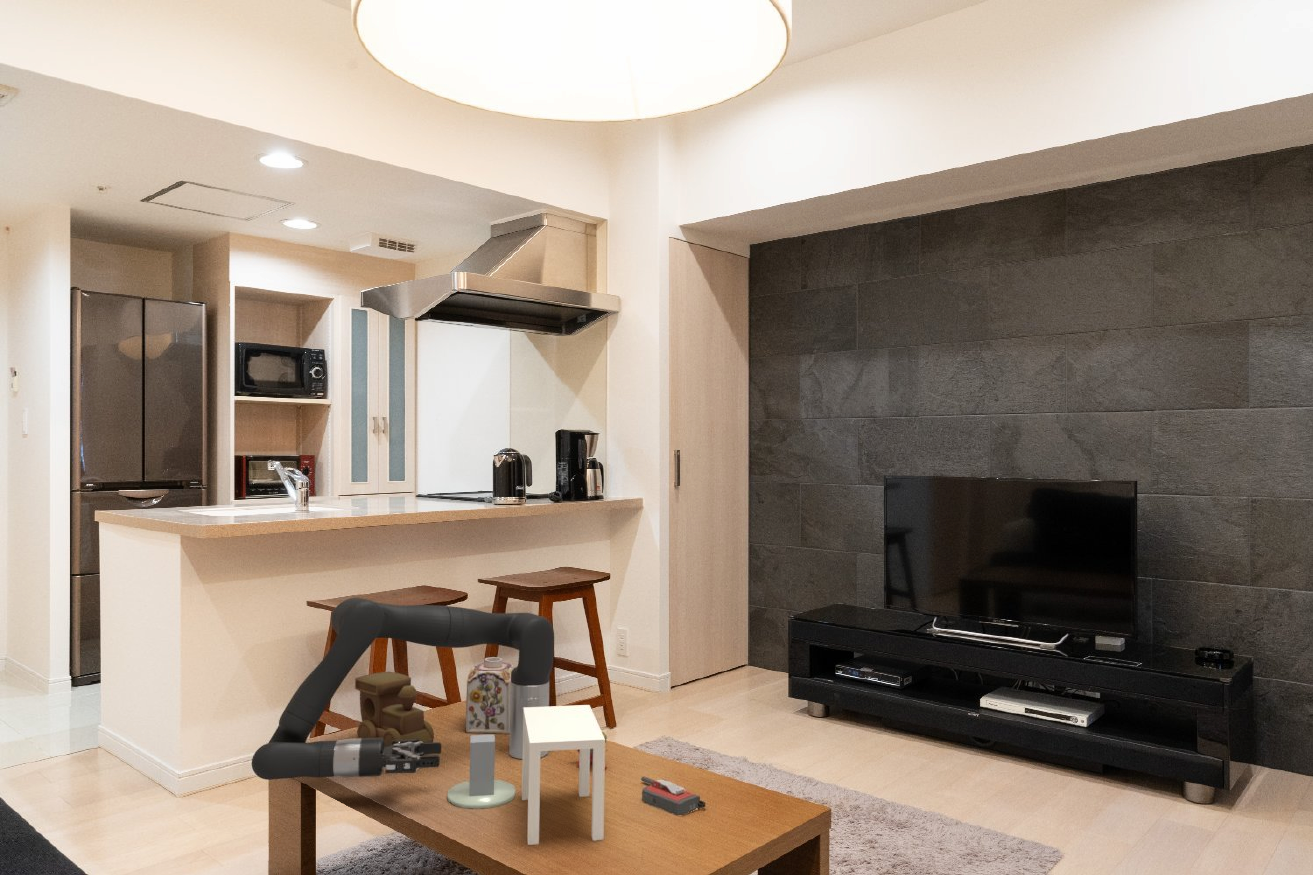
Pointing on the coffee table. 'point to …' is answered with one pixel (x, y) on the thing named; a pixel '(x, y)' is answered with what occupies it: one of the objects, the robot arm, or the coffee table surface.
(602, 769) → the white step stool
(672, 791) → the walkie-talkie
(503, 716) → the decorative jar
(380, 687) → the wooden toy train
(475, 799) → the plate
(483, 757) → the block
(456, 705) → the coffee table surface
